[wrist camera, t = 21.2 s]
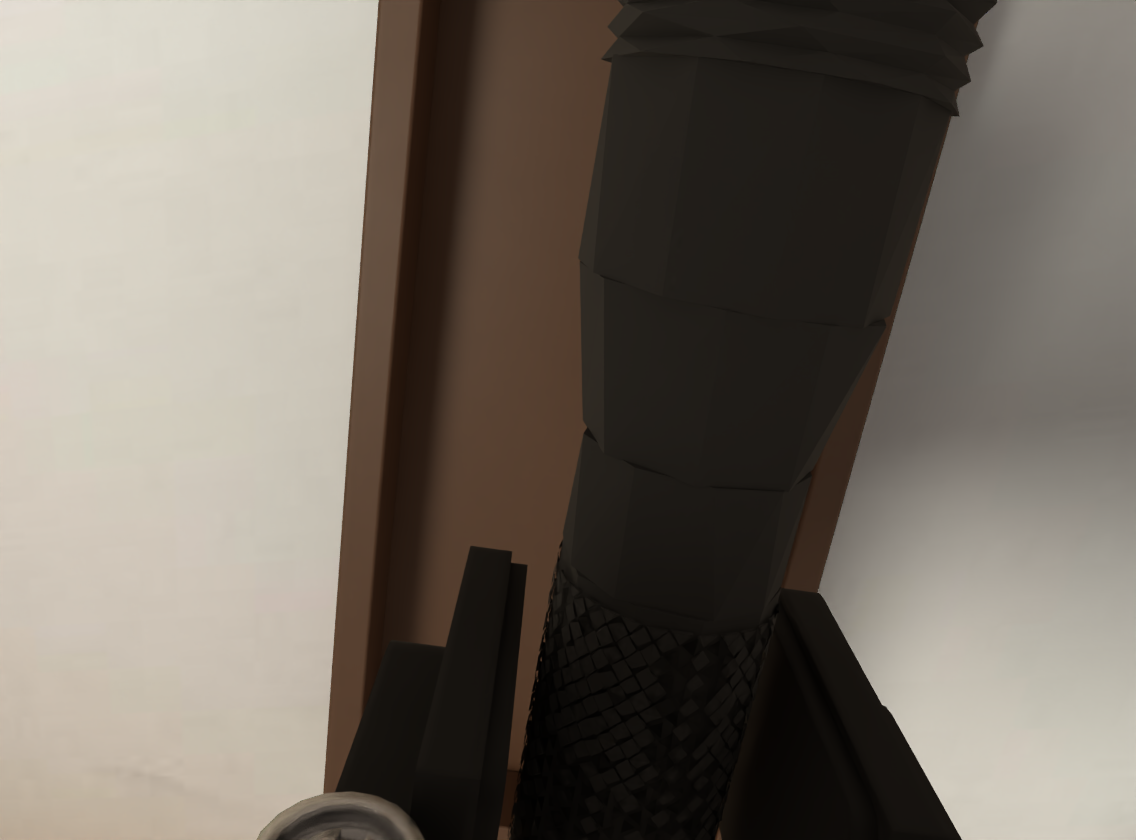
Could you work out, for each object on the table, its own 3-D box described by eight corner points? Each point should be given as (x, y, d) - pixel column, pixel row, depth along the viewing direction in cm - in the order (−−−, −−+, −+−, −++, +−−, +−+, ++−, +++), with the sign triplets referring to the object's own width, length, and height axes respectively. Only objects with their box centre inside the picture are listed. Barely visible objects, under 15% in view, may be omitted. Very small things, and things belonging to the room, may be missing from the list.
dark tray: (417, -135, 16) (391, -184, 14) (942, -44, 17) (1007, -75, 14) (346, 757, 23) (320, 831, 21) (719, 802, 24) (737, 880, 21)
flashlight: (919, -13, 8) (1107, -95, 5) (619, 1112, 13) (632, 1377, 10) (618, -67, 8) (645, -183, 5) (433, 1091, 13) (395, 1354, 10)
